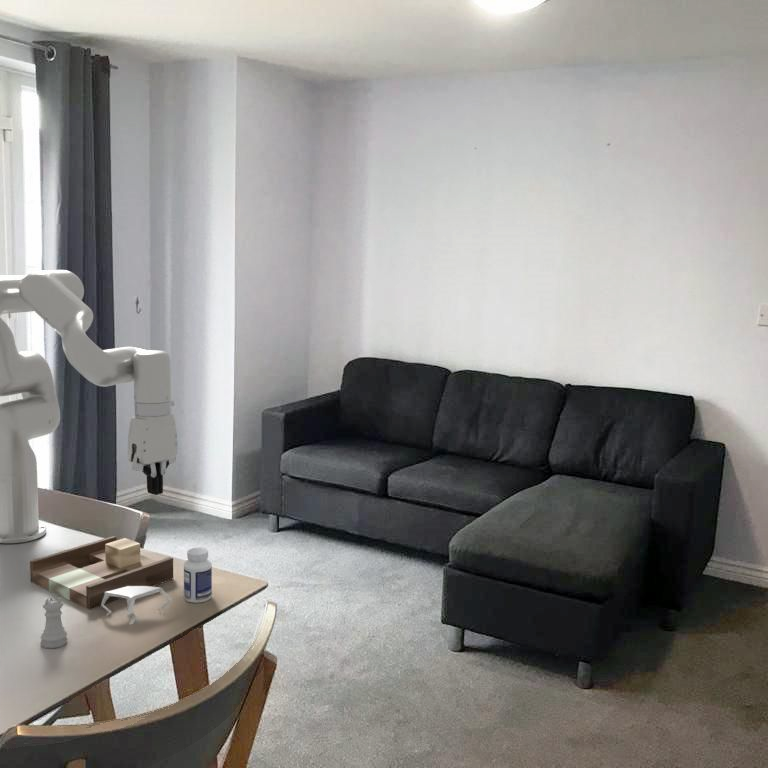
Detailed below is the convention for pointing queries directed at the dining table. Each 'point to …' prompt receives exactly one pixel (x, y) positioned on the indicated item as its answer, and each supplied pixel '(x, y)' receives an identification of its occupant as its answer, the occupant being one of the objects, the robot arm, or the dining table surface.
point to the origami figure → (134, 597)
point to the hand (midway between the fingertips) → (155, 492)
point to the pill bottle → (197, 576)
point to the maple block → (122, 552)
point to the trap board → (94, 573)
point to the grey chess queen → (53, 625)
